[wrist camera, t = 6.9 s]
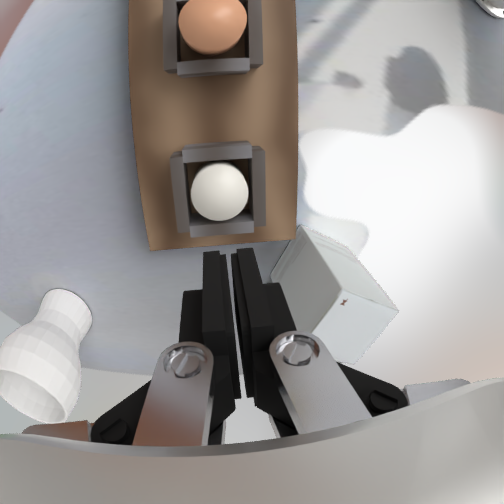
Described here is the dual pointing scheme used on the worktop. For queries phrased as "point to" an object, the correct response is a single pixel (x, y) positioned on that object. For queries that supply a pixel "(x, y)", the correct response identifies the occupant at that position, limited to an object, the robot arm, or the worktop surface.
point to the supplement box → (332, 294)
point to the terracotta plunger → (212, 25)
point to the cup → (46, 359)
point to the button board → (215, 122)
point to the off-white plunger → (219, 190)
